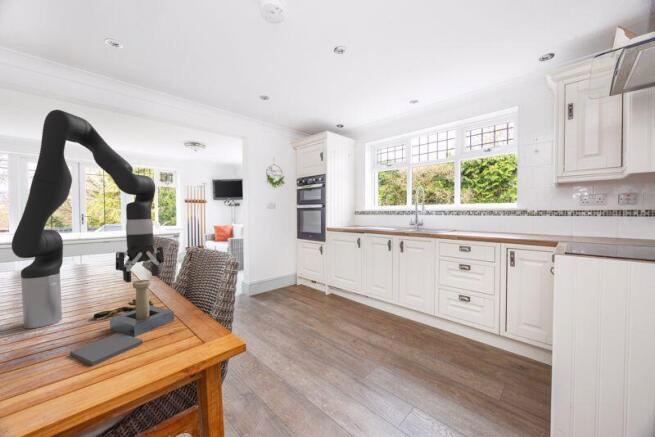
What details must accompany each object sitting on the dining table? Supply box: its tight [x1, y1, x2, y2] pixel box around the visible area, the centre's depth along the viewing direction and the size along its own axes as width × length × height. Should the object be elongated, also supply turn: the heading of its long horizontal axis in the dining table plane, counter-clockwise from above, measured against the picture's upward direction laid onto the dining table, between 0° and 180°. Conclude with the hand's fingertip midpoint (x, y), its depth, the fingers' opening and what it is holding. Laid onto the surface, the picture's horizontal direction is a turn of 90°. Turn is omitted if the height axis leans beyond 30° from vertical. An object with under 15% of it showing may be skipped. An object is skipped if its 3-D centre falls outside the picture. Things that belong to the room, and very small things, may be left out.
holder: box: [109, 305, 175, 338], centre depth 90 cm, size 14×13×4 cm
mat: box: [69, 332, 144, 366], centre depth 74 cm, size 12×12×1 cm
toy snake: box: [93, 298, 154, 319], centre depth 102 cm, size 18×5×10 cm
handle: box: [132, 279, 152, 320], centre depth 90 cm, size 5×6×15 cm
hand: (141, 278), depth 90 cm, fingers open, 8 cm apart
